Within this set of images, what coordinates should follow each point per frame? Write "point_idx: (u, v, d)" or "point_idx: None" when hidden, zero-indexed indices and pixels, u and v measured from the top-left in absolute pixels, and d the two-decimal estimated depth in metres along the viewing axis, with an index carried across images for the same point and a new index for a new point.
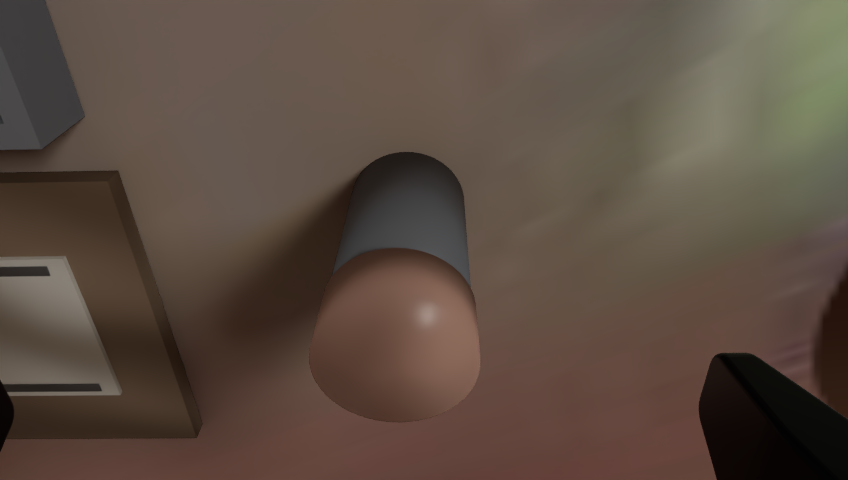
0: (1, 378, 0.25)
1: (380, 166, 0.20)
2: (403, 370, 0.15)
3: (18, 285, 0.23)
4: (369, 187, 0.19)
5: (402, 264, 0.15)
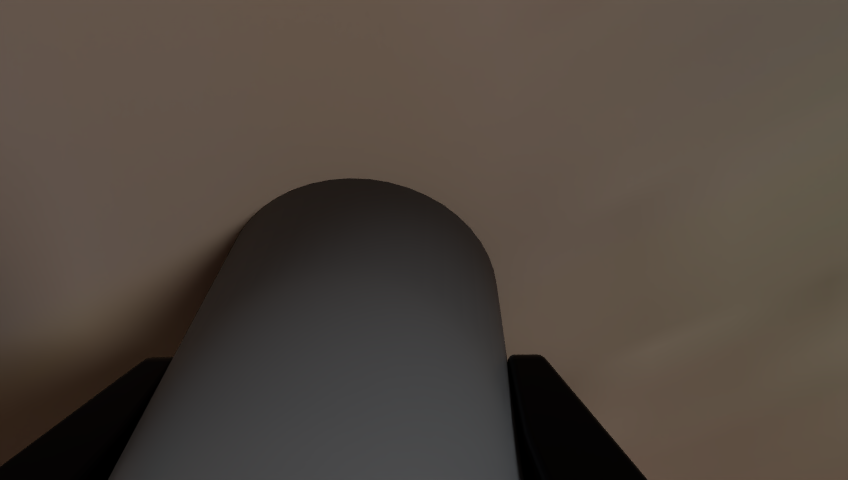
0: None
1: (279, 218, 0.07)
2: None
3: None
4: (232, 285, 0.07)
5: None
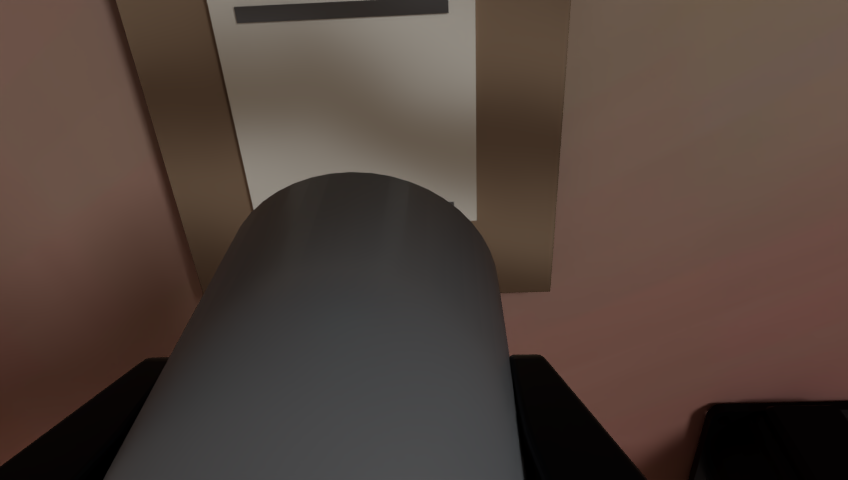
0: None
1: (279, 211, 0.07)
2: None
3: (397, 32, 0.16)
4: (231, 278, 0.06)
5: None
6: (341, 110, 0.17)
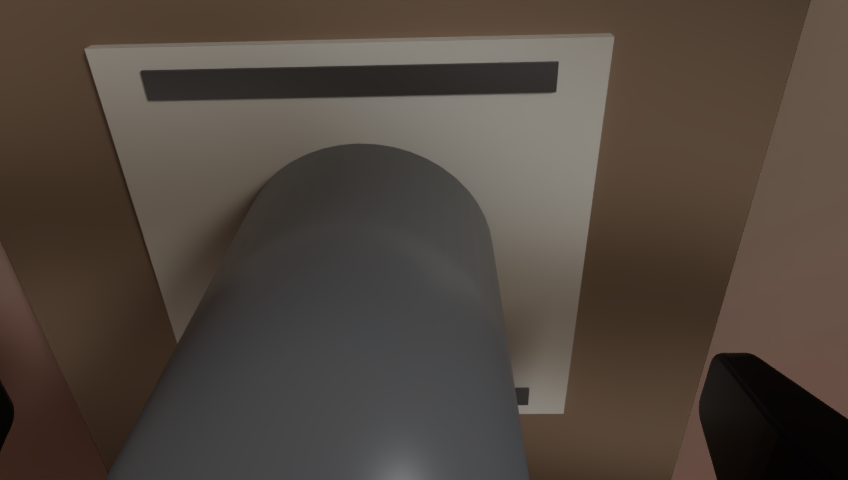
0: None
1: (294, 177, 0.08)
2: None
3: (454, 124, 0.09)
4: (254, 232, 0.07)
5: None
6: None
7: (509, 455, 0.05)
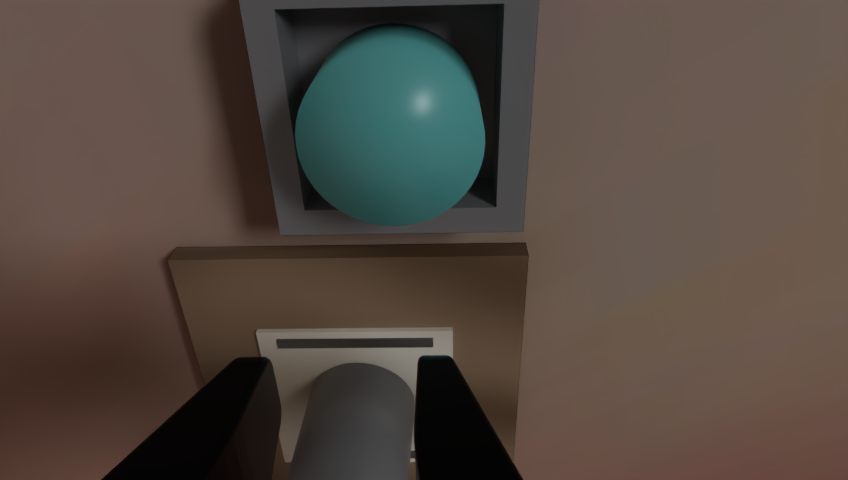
0: None
1: (332, 380, 0.22)
2: None
3: (395, 356, 0.22)
4: (319, 409, 0.21)
5: None
6: None
7: None
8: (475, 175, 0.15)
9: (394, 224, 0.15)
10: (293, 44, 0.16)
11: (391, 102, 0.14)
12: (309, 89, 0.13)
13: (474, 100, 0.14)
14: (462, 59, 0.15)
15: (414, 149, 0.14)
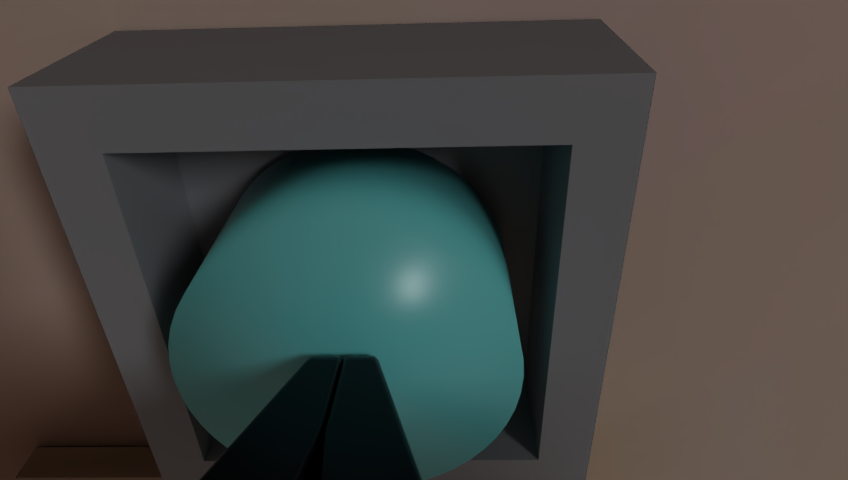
0: None
1: None
2: None
3: None
4: None
5: None
6: None
7: None
8: (504, 419, 0.08)
9: None
10: (172, 188, 0.09)
11: (345, 315, 0.07)
12: (187, 293, 0.07)
13: (505, 312, 0.07)
14: (479, 201, 0.09)
15: (391, 386, 0.08)
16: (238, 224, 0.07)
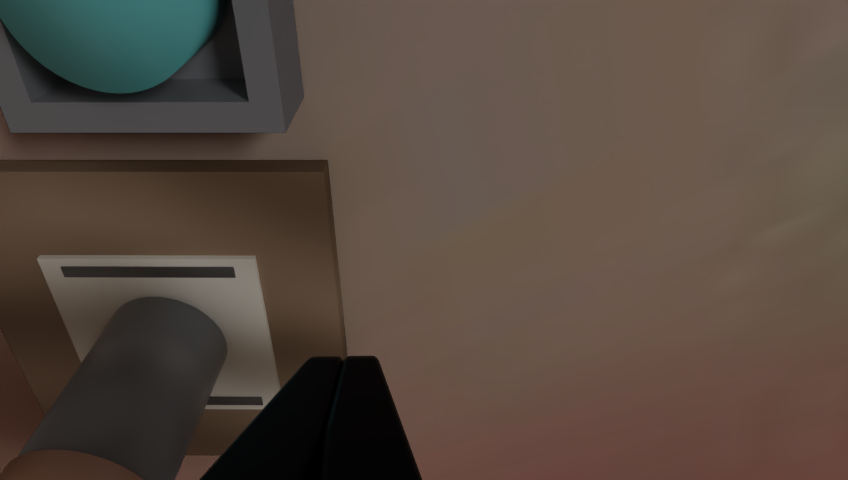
0: None
1: (117, 317, 0.20)
2: None
3: (196, 287, 0.20)
4: (94, 347, 0.19)
5: (40, 474, 0.15)
6: None
7: (151, 429, 0.17)
8: (196, 34, 0.13)
9: (118, 91, 0.14)
10: None
11: None
12: None
13: None
14: None
15: None
16: None
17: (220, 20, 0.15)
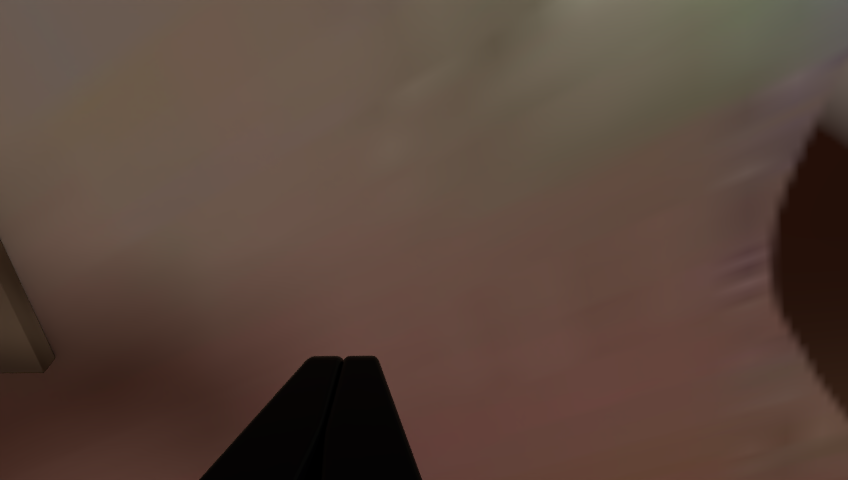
0: None
1: None
2: None
3: None
4: None
5: None
6: None
7: None
8: None
9: None
10: None
11: None
12: None
13: None
14: None
15: None
16: None
17: None
